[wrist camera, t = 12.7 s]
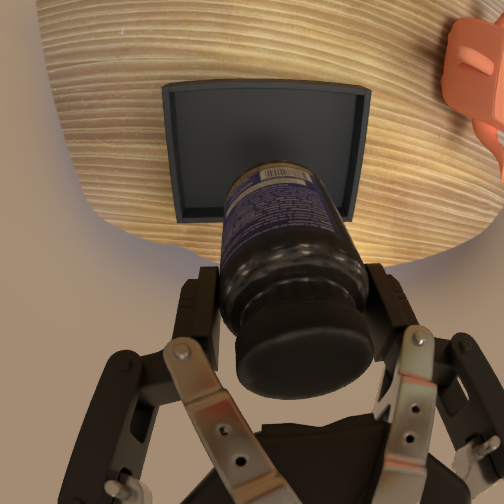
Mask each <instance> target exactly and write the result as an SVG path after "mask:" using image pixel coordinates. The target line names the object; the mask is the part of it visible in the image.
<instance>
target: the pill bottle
mask: <svg viewBox="0 0 504 504" xmlns="http://www.w3.org/2000/svg"><path fill="white" fill-rule="evenodd" d="M368 298H369V280H368V275H367V271H366V269H365V267H364V264H363V262H362V260H361V258H360V255H359V253H358V251H357V249H356V247H355V245H354V243H353V241H352V239H351V237H350V235H349V233H348V231H347V229H346V226H345V224H344V222H343V220H342V218H341V216H340V214H339V212H338V210H337V208H336V207H335V205H334V203H333V201H332V199H331V197H330V195H329V193H328V191H327V190H326V188H325V186H324V184H323V182H322V181H321V180H320V179H319V178H318V176H317V175H316V174H315V173H313V172H312V171H311V170H310V169H309V168H307V167H305V166H303V165H301V164H298V163H296V162H291V161H286V160H272V161H265V162H261V163H258V164H256V165H255V166H253V167H251V168H249V169H247V170H245V171H244V172H243V173H241V174H240V175H239V176H238V177H237V178H236V180H235V181H234V182H233V183H232V185H231V187H230V188H229V190H228V193H227V196H226V199H225V208H224V220H223V233H222V246H221V260H220V276H219V290H218V305H219V310H220V312H221V316H222V318H223V322H224V323H225V325H227V328H228V329H229V330H230V331H231V332H232V333H233V335H235V336H236V337H237V338H236V342H235V351H236V372H237V377H238V379H239V382H240V383H241V384H242V385H243V386H244V387H245V388H246V389H247V390H249V391H251V392H253V393H255V394H258V395H260V396H263V397H267V398H273V399H281V400H296V399H306V398H311V397H317V396H322V395H325V394H328V393H331V392H334V391H336V390H338V389H341V388H342V387H345V386H346V385H348V384H350V383H351V382H353V381H354V380H356V379H357V378H359V377H360V376H361V375H362V374H363V373H364V372H365V370H367V368H368V367H369V366H370V364H371V362H372V360H373V357H374V346H373V342H372V339H371V336H370V333H369V329H368V325H367V323H366V320H365V319H364V318H363V316H362V314H363V312H364V309H365V307H366V304H367V301H368Z"/></svg>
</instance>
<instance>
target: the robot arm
mask: <svg viewBox="0 0 504 504" xmlns="http://www.w3.org/2000/svg"><path fill="white" fill-rule="evenodd" d="M364 267H365V269H366V271H367V275H368V280H369V298H368V301H367V304H366V307H365V309H364V312H363V314H362V316H363V318H364V319H365V320H366V323H367V325H368V329H369V333H370V336H371V339H372V342H373V346H374V360H375V362H378V361H384V363H385V367H384V369H383V371H382V376H381V380H380V384H379V389H378V393H377V397H376V401H375V404H374V407H373V410H372V412H371V413H369V414H363V415H357V416H350V417H347V418H344V419H342V420H339V421H336V422H334V423H331V424H329V425H326V426H323V427H315V426H308V425H301V424H295V423H282V424H262V430H261V431H259V432H255V433H253V432H252V430H251V428H250V427H249V425H248V423H247V422H246V420H245V419H244V417H243V415H242V414H241V412H240V410H239V409H238V407H237V405H236V404H235V402H234V400H233V398H232V396H231V395H230V393H229V392H228V390H227V389H224V388H223V386H222V385H221V383H220V381H219V379H218V377H217V376H216V374H215V372H214V371H218V355H219V334H220V318H221V317H220V316H221V312H220V310H219V305H218V290H219V268H218V266H215V267H200V272H199V278H198V279H188V280H187V281H186V283H185V284H184V285H183V287H182V288H181V293H180V300H179V304H178V309H177V314H176V320H175V325H174V331H173V336H172V339H171V341H170V342H169V343H168V344H167V345H166V346H165V348H164V349H163V350H161V351H159V352H156V353H153V354H149V355H145V356H139V355H138V354H137V353H136V352H134V351H131V350H121V351H118V352H116V353H114V354H113V355H112V356H111V357H110V358H109V359H108V361H107V363H106V366H105V368H104V370H103V373H102V375H101V377H100V380H99V382H98V385H97V387H96V390H95V393H94V395H93V397H92V400H91V402H90V405H89V408H88V410H87V413H86V415H85V418H84V421H83V424H82V426H81V429H80V432H79V435H78V437H77V440H76V443H75V446H74V449H73V452H72V455H71V458H70V461H69V464H68V467H67V470H66V473H65V477H64V480H63V483H62V487H61V490H60V493H59V497H58V504H152V493H151V491H150V489H149V488H148V487H147V486H146V485H145V484H144V483H143V482H141V481H140V477H141V473H142V469H143V464H144V461H145V457H146V453H147V449H148V446H149V442H150V438H151V434H152V431H153V427H154V424H155V420H156V416H157V413H158V409H159V406H160V405H164V404H168V403H172V402H176V401H180V400H182V402H183V404H184V406H185V409H186V411H187V413H188V416H189V418H190V420H191V421H192V424H193V426H194V428H195V430H196V432H197V434H198V436H199V438H200V440H201V442H202V444H203V446H204V448H205V450H206V452H207V454H208V456H209V458H210V460H211V461H212V463H213V465H214V468H213V469H212V470H211V471H210V472H209V473H208V474H207V475H206V476H205V478H204V479H203V480H202V481H201V482H200V483H199V484H198V485H197V486H196V487H195V488H194V490H193V491H192V492H191V493H190V494H189V495H188V496H187V497H186V498H185V499H184V500H183V501H182V502H181V503H180V504H471V502H472V501H473V500H475V499H476V498H477V497H479V496H480V495H482V494H483V493H485V492H486V491H488V490H489V489H490V488H492V487H493V486H494V485H496V484H497V483H499V482H502V481H503V480H504V389H503V387H502V385H501V384H500V382H499V380H498V378H497V376H496V375H495V373H494V371H493V369H492V368H491V366H490V364H489V362H488V361H487V359H486V358H485V356H484V354H483V352H482V351H481V349H480V348H479V346H478V344H477V343H476V342H475V340H474V339H473V337H471V336H470V335H468V334H466V333H462V332H460V333H456V334H455V335H454V336H453V337H452V339H451V340H447V339H441V338H435V337H434V336H433V334H432V333H431V332H430V331H429V330H428V329H427V328H425V327H423V326H421V325H419V323H418V321H417V319H416V317H415V314H414V312H413V311H412V308H411V306H410V304H409V302H408V300H407V298H406V295H405V294H404V293H403V289H402V287H401V285H400V283H399V282H398V281H397V280H396V279H395V278H394V277H393V276H392V275H391V274H388V275H386V273H385V270H384V269H383V266H382V265H381V264H380V263H371V264H364ZM458 377H459V378H460V379H461V382H462V384H463V385H464V387H465V389H466V391H467V393H468V397H469V400H467V398H466V396H465V394H464V392H463V390H462V388H461V386H460V384H459V382H458V380H457V378H458ZM435 406H436V407H437V409H438V411H439V414H440V416H441V418H442V420H443V423H444V425H445V427H446V429H447V432H448V434H449V436H450V438H451V441H452V443H453V446H454V448H455V451H456V454H455V457H454V461H453V463H452V469H453V470H454V471H456V473H454V472H453V471H451V470H450V469H449V468H448V467H446V466H445V465H444V464H442V463H441V462H440V461H439V460H437V459H436V458H435V457H434V456H432V455H431V454H430V453H429V452H428V450H429V444H430V439H431V432H432V427H433V420H434V413H435Z"/></svg>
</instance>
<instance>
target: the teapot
mask: <svg viewBox="0 0 504 504" xmlns="http://www.w3.org/2000/svg"><path fill="white" fill-rule="evenodd" d="M447 39H448V45H447V50H446V55H445V61H444V71H443V75H442V77H441V80H440V83H441V87H442V94H443V98H444V100H445V102H446V103H447V104H448V105H449V106H450V107H451V108H453V109H454V110H456V111H458V112H460V113H462V114H464V115H466V116H468V117H470V118H471V119H472V126H473V129H474V132H475V134H476V136H477V138H478V139H479V140H480V142H481V143H482V144H483V145H484V146H485V147H486V148H487V149H488V150H489V151H490V152H491V153H492V154H493V155H494V156H495V157H496V159H497V161H498V163H499V166H500V173H501V182H502V183H504V148H503V147H502V146H501V144H500V143H499V141H498V137H497V129H499V130H502V131H504V12H503V13H502V15H501V16H500V17H499V18H498V20H497V21H496V22H495V23H494V24H493V23H490V22H487V21H484V20H480V19H476V18H470V17H464V18H461V19H459V20H457V21H456V22H455V23H454V25H453V27H452V30H451V32H450V33H449V34H448V38H447Z"/></svg>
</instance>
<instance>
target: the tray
mask: <svg viewBox="0 0 504 504" xmlns="http://www.w3.org/2000/svg"><path fill="white" fill-rule="evenodd" d="M162 98H163V110H164V121H165V131H166V141H167V150H168V159H169V167H170V175H171V183H172V191H173V198H174V205H175V212H176V219H177V223H214V222H223V220H224V208H225V199H226V196H227V193H228V190H229V188H230V187H231V185H232V183H233V182H234V181H235V180H236V178H237V177H238V176H239V175H240V174H241V173H243V172H244V171H245V170H247V169H249V168H251V167H253V166H255V165H256V164H258V163H261V162H265V161H272V160H286V161H291V162H296V163H298V164H301V165H303V166H305V167H307V168H309V169H310V170H311V171H312V172H313V173H315V174H316V175H317V176H318V178H319V179H320V180H321V181H322V182H323V184H324V186H325V188H326V190H327V191H328V193H329V195H330V197H331V199H332V201H333V203H334V205H335V207H336V208H337V210H338V212H339V214H340V216H341V218H342V220H343V222H346V221H347V222H352V218H353V213H354V208H355V203H356V197H357V192H358V186H359V180H360V174H361V168H362V161H363V155H364V148H365V141H366V133H367V126H368V117H369V109H370V100H371V90H370V89H367V88H365V87H362V86H357V85H350V84H341V83H332V82H321V81H308V80H291V79H216V80H198V81H186V82H175V83H168V84H166V85H164V86H162Z"/></svg>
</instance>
